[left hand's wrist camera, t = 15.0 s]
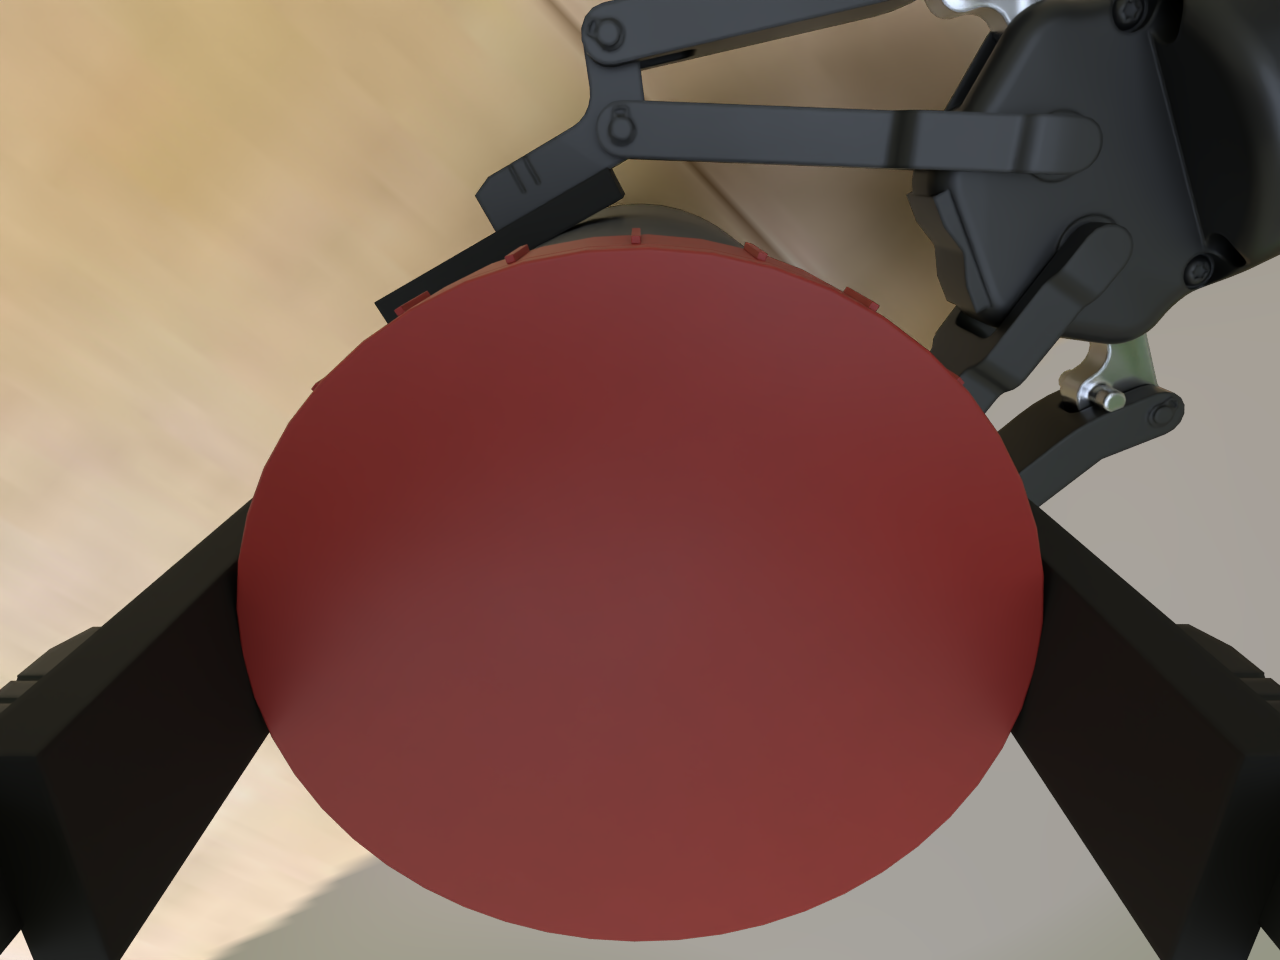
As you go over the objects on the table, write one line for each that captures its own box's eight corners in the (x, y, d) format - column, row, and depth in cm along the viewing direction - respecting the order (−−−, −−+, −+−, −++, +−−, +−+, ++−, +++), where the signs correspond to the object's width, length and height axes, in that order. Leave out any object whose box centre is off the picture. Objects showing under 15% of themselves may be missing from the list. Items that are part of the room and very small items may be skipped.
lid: (684, 939, 15) (690, 1036, 13) (163, 640, 12) (89, 713, 11) (1140, 544, 12) (1222, 607, 10) (566, 38, 9) (550, 9, 8)
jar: (505, 482, 29) (330, 893, 13) (489, 201, 26) (215, 263, 9) (770, 486, 30) (939, 899, 13) (793, 205, 26) (1074, 276, 9)
